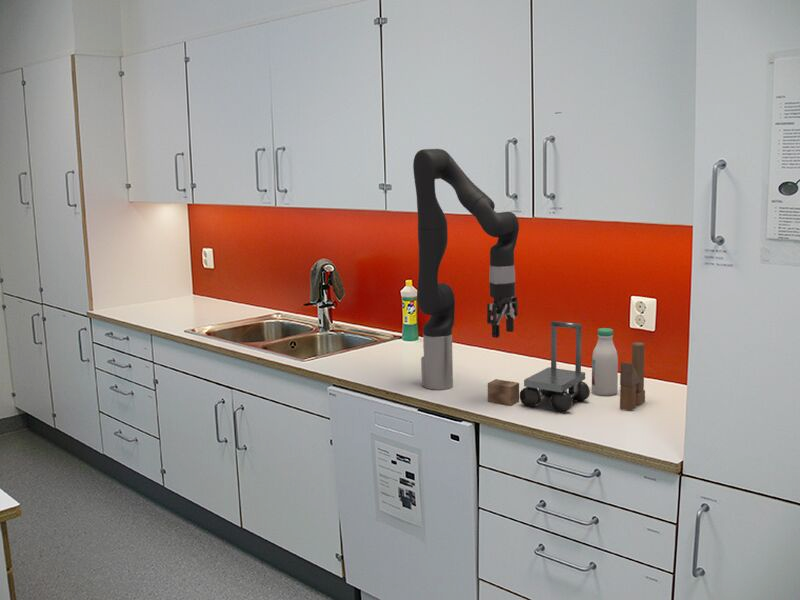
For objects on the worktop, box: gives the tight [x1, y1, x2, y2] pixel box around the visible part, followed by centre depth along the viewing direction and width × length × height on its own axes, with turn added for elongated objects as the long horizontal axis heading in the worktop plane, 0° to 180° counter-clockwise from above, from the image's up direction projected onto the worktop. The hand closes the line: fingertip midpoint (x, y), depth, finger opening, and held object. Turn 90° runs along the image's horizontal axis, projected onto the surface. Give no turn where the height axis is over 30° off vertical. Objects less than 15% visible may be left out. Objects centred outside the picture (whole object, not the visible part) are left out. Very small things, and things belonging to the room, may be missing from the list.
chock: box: [487, 379, 520, 407], centre depth 255 cm, size 8×5×6 cm, turn 54°
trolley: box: [519, 320, 591, 414], centre depth 250 cm, size 16×16×23 cm
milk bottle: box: [591, 327, 619, 397], centre depth 260 cm, size 8×8×20 cm
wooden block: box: [619, 341, 646, 412], centre depth 247 cm, size 4×11×18 cm, turn 143°
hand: (502, 334), depth 252 cm, fingers open, 8 cm apart
